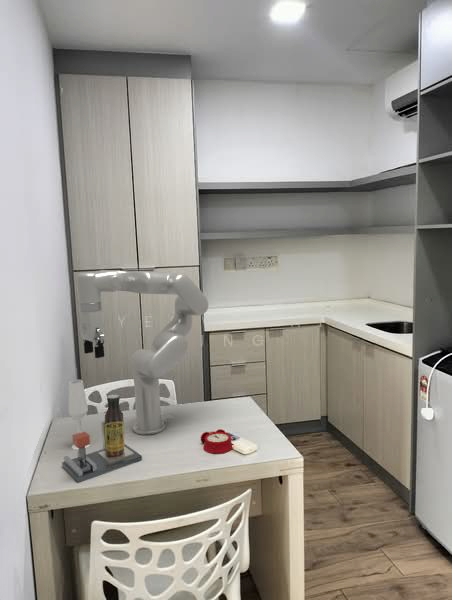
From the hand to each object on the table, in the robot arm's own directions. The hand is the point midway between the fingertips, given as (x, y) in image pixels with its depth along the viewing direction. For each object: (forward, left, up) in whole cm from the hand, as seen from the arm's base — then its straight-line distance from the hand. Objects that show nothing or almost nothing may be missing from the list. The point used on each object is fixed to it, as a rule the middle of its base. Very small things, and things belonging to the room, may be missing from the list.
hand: (94, 355), depth 167 cm
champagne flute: (+6, -4, -34) cm, 34 cm away
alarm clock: (-30, +30, -34) cm, 54 cm away
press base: (+6, +15, -33) cm, 37 cm away
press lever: (+14, +18, -31) cm, 39 cm away
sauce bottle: (+1, +15, -32) cm, 35 cm away
